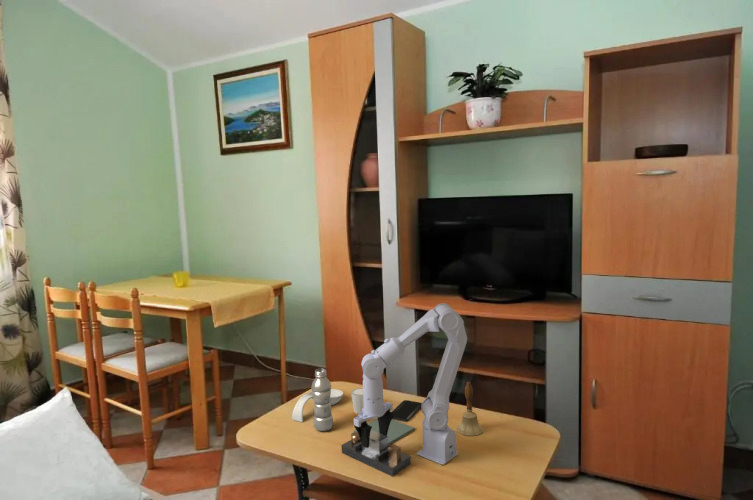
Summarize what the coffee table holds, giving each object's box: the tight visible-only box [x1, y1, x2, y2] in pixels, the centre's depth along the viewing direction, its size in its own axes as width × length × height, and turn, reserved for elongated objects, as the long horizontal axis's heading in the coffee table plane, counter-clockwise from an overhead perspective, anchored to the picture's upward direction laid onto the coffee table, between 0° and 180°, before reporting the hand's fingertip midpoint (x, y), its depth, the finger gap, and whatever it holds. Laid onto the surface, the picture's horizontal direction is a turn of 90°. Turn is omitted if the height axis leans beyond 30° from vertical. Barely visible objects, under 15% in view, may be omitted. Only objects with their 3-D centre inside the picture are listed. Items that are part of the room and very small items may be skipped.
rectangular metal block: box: [362, 430, 390, 455], centre depth 144 cm, size 7×4×4 cm, turn 48°
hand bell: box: [456, 381, 484, 437], centre depth 159 cm, size 8×8×16 cm
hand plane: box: [341, 431, 412, 478], centre depth 144 cm, size 20×8×6 cm, turn 48°
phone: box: [391, 399, 423, 423], centre depth 175 cm, size 8×1×15 cm
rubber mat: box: [353, 418, 416, 446], centre depth 161 cm, size 14×14×1 cm
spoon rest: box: [291, 388, 345, 423], centre depth 180 cm, size 24×12×7 cm, turn 149°
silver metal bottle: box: [310, 368, 334, 432], centre depth 163 cm, size 6×7×20 cm
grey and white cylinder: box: [350, 387, 364, 415], centre depth 177 cm, size 7×7×7 cm
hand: (374, 441), depth 144 cm, fingers open, 7 cm apart
